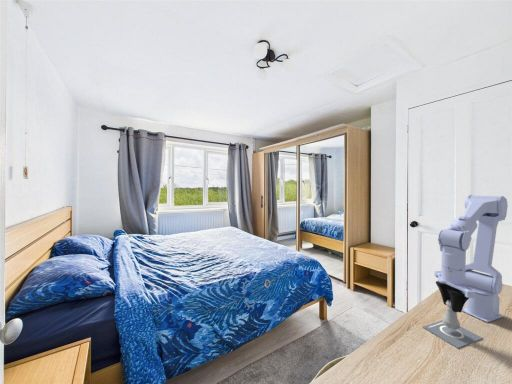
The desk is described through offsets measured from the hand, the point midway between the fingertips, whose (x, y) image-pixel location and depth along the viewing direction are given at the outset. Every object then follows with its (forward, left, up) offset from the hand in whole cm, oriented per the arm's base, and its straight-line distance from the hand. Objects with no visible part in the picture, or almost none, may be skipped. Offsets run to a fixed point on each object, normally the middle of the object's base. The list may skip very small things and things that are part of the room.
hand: (452, 308), depth 71 cm
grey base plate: (0, 0, -8) cm, 8 cm away
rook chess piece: (0, 0, -6) cm, 6 cm away
